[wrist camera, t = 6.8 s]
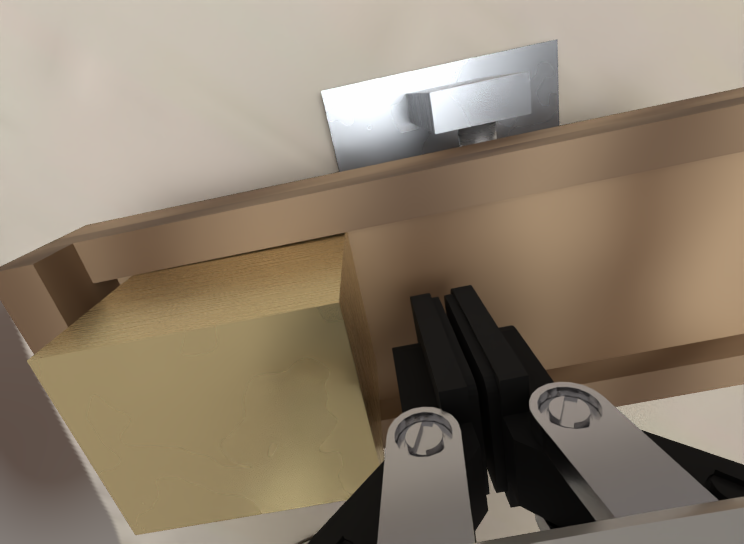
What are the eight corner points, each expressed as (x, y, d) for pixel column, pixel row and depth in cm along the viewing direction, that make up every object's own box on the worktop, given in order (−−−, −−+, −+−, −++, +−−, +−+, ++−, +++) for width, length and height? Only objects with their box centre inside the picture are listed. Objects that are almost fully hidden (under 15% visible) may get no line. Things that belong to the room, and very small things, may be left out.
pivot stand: (634, 23, 18) (784, -16, 12) (622, 304, 24) (720, 380, 17) (174, 123, 19) (86, 137, 12) (266, 374, 24) (237, 472, 18)
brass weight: (345, 223, 12) (339, 302, 8) (376, 363, 14) (386, 493, 10) (148, 262, 12) (26, 360, 8) (206, 394, 14) (135, 535, 10)
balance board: (785, 78, 12) (965, 71, 9) (740, 332, 16) (856, 404, 12) (86, 225, 13) (-16, 274, 10) (188, 434, 17) (142, 528, 13)
